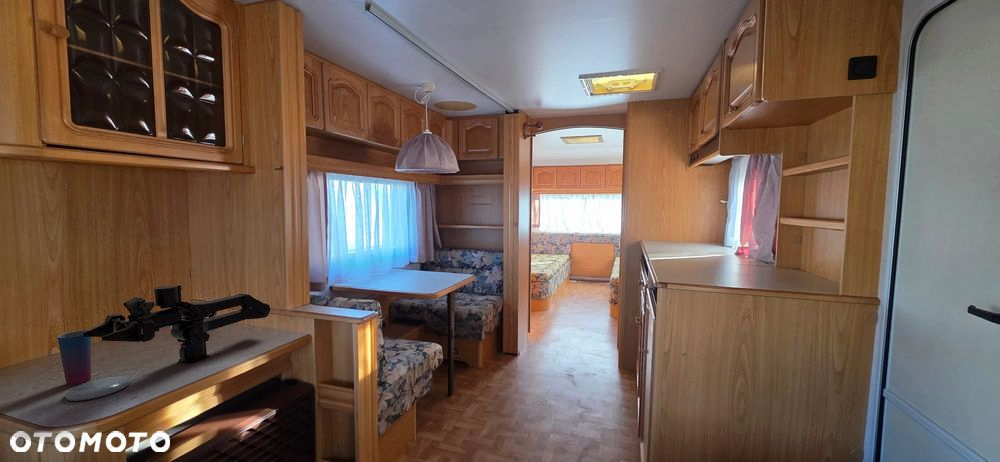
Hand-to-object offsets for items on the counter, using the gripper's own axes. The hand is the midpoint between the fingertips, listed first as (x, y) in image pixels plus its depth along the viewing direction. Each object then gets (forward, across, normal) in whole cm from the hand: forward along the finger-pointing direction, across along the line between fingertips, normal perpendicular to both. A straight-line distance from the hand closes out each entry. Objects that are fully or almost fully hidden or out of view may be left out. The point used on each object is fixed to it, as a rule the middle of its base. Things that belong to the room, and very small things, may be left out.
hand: (92, 336), depth 108 cm
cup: (-2, -15, +17) cm, 23 cm away
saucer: (-1, -2, +17) cm, 17 cm away
